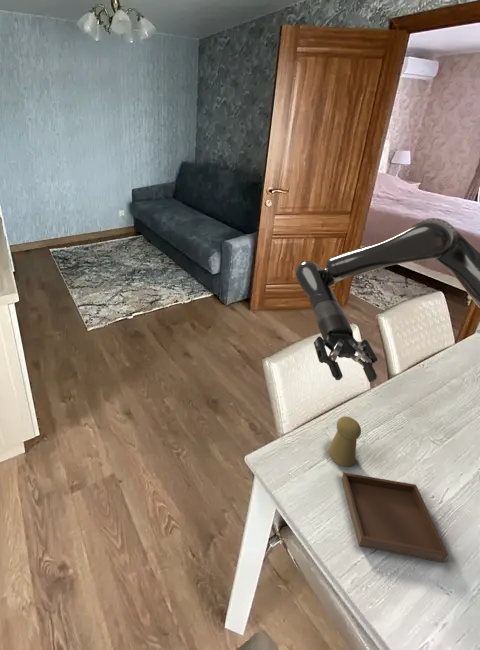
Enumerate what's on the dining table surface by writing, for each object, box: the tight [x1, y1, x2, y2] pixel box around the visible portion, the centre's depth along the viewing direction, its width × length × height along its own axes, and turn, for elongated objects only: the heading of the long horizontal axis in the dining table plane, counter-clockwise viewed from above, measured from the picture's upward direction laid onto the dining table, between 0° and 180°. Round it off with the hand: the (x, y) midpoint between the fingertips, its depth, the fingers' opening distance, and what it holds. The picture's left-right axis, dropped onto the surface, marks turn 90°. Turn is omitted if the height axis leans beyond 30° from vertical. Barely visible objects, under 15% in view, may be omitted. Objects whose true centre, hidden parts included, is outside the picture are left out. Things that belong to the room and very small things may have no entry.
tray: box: [341, 472, 449, 564], centre depth 72 cm, size 15×13×2 cm
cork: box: [327, 416, 362, 468], centre depth 83 cm, size 6×6×11 cm
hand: (356, 379), depth 81 cm, fingers open, 8 cm apart
